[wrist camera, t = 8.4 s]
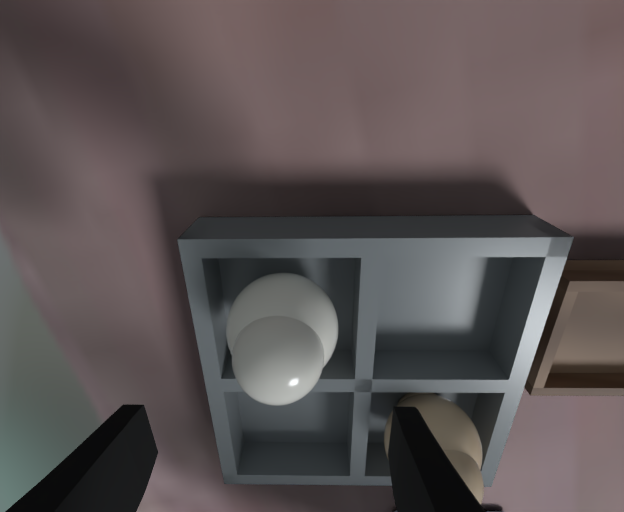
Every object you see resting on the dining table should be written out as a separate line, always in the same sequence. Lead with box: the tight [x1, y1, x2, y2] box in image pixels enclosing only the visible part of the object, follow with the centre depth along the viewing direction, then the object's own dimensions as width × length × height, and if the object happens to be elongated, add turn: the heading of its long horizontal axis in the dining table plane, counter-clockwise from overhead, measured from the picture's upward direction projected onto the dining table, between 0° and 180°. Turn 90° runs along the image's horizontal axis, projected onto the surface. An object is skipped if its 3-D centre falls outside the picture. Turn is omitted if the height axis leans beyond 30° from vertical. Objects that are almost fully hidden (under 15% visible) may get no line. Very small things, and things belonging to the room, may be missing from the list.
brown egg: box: [384, 392, 484, 504], centre depth 17 cm, size 5×5×6 cm
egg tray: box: [177, 215, 574, 487], centre depth 17 cm, size 15×15×3 cm
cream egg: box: [226, 272, 338, 406], centre depth 14 cm, size 5×5×6 cm
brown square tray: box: [524, 260, 624, 396], centre depth 16 cm, size 6×6×2 cm
